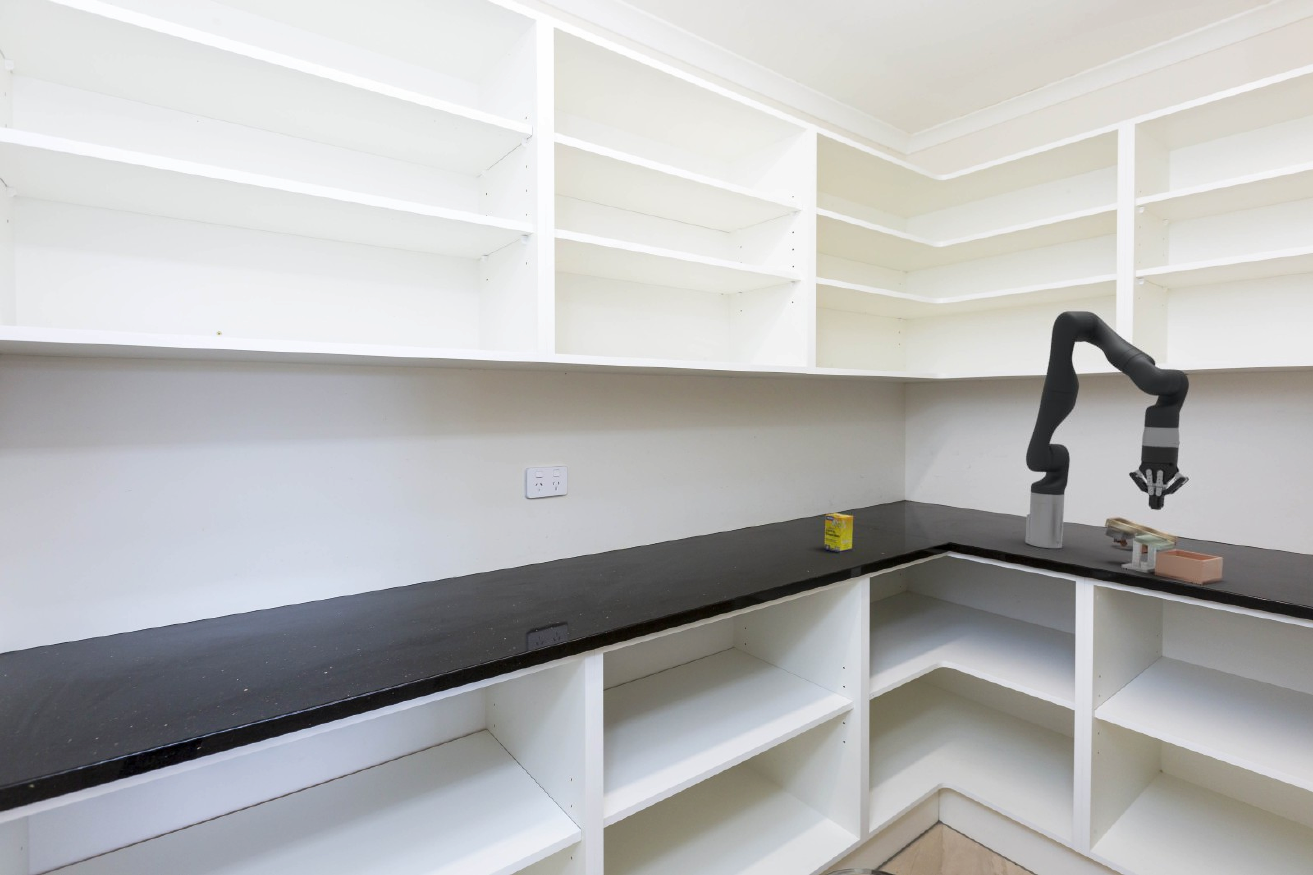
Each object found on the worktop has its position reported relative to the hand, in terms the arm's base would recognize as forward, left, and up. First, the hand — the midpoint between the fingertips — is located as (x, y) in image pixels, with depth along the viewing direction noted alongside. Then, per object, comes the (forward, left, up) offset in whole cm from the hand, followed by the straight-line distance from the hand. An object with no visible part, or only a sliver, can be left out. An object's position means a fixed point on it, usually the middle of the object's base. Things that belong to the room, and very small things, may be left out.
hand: (1155, 509), depth 160 cm
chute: (-6, +3, -11) cm, 13 cm away
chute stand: (-5, +6, -18) cm, 20 cm away
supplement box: (-55, -59, -18) cm, 83 cm away
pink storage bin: (+5, +6, -18) cm, 20 cm away
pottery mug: (-19, +32, -18) cm, 41 cm away
